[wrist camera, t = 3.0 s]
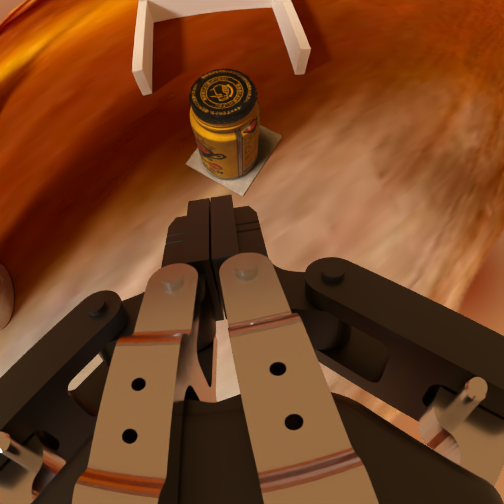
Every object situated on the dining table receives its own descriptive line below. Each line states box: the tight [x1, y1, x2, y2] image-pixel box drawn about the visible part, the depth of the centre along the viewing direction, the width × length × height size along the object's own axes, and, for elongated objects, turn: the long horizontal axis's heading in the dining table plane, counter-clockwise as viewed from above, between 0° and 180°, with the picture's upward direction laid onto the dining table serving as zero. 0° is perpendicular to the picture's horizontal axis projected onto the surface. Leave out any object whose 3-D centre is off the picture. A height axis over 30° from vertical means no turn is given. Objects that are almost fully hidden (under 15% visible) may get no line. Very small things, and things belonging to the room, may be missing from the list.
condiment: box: [186, 69, 282, 196], centre depth 28 cm, size 7×8×12 cm
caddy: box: [132, 0, 311, 96], centre depth 34 cm, size 20×16×5 cm
